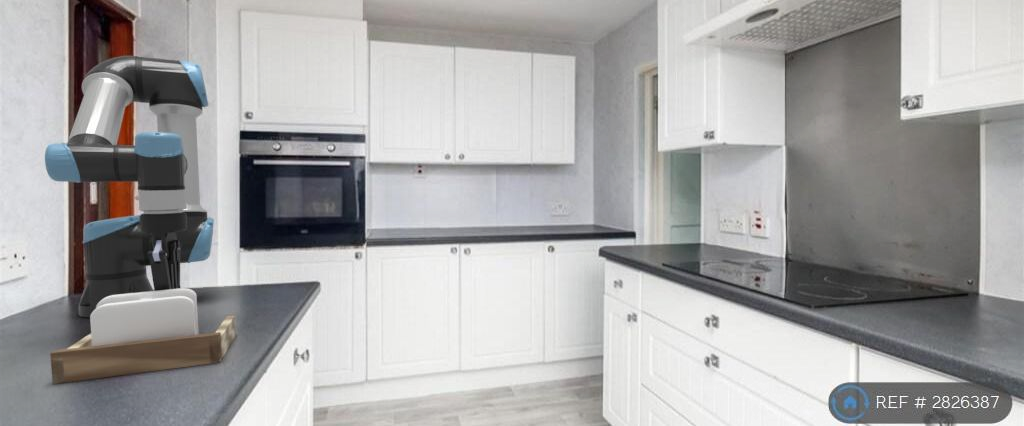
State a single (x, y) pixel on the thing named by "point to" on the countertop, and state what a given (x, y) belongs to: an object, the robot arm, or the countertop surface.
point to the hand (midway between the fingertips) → (170, 329)
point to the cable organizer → (144, 316)
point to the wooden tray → (140, 355)
